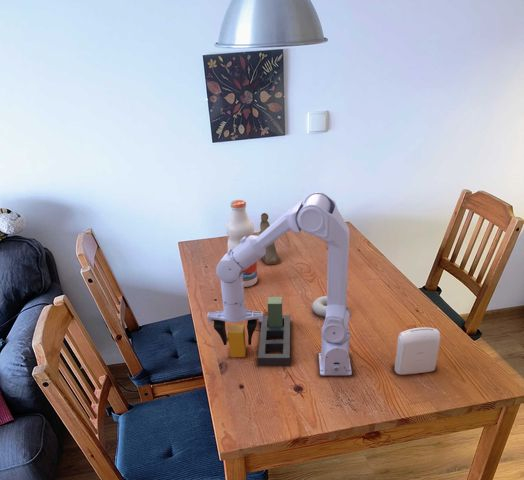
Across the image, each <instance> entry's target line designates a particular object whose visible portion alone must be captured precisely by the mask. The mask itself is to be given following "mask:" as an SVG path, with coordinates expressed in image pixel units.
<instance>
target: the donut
mask: <svg viewBox="0 0 524 480" xmlns="http://www.w3.org/2000/svg"><path fill="white" fill-rule="evenodd" d="M326 309H327V295H324V296H319V297H318V298H316V299H314V301H313V303H312V311H313V312H314V313H315V314H316V315H318V316H320V317H322V318H325V317H326Z"/></svg>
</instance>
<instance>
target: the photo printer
mask: <svg viewBox="0 0 524 480" xmlns="http://www.w3.org/2000/svg"><path fill="white" fill-rule="evenodd" d="M396 344H397V345H396V352H395V361H394V372H395V373H396V374H397V375H400V376H402V375H405V376H406V375H416V374H423V373H430V372H434V371H435V369H436V365H437V359H438V356H439V355H438V354H439V349H440V344H441V333H440V331H439V329H438V328H434V327H426V326H424V327H414V328H409V329H407V330H404V331H401V332H399V334H398V336H397V343H396Z"/></svg>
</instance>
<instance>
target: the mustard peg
mask: <svg viewBox="0 0 524 480" xmlns="http://www.w3.org/2000/svg"><path fill="white" fill-rule="evenodd" d="M227 339H228V346H229V356H230V358H246V353H247V344H246V343H247V342H246V330H245V324H229V325H228V331H227Z"/></svg>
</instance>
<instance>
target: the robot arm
mask: <svg viewBox="0 0 524 480" xmlns="http://www.w3.org/2000/svg"><path fill="white" fill-rule="evenodd" d="M303 202H304V203H303ZM269 225H270V226H269V227H268V228H267V229H266V230H265V231H263V232H262V233H261V234H260V235H259V234H258V235H255V234H253V235H250V236H249V237H248V238H246V236H245V237H243V238H242V239H241V241H240V242H241V243H240V244H239V245H238V246H237V247H235V248H234V249H233V250H232V249H230V250H229V251H228V250H227V252H226V253H225V254H223V256H222V258H221V259H220V260H219V262H218V264H217V265H216V267H215V274H216V276H217V278H218V279H219V280H220V291H221V299H222V308H223V310H217V311H211V312H210V311H209V312H207V315H206V319H207V323H212V322H213V329H214V330H215V332H217V334H218V335H219V337H220V338H221V342H222V343H223V346H227V344H228V334H227V329H226V322H228V323H241V322H245V321H246V322H247V323H246V330H247V344H248V346H251V345H252V338H253V335H254V334H255V333H254V332H255V331H256V329H257V325H258V322H259V323H261V322H263V316H264V311H258V310H257V311H256V310H251V309H246V298H245V297H246V296H245V287H244V284H243V275H242V271H243V270H246V269H247V268H249V267H250V266H251V265H253V264H254V263H255V262H258V261H260V260H261V259H263V258H262V257H263V256H264V255H265V254H266V247H267V246H269V245H270V244H272V243H273V242H274V243H275V242H276V241H278V240H279V239H280V238H281V237H283V236H285V235H286V234H288V232H294V233H297V234H300V233H301V231H303V232H304V233H307V234H308V235H311V236H314V237H316V238H319V239H320V240H322V241H324V242H325V243H326V244H327V277H326V280H327V283H326V296H327V309H326V317H324V321H323V325H322V327H321V330H320V331H321V345H320V352H319V353H318V363H319V375H320V376H352V374H353V372H352V366H351V360H350V359H351V358H350V345H351V331H350V329H349V324H350V321H351V317H352V314H351V310H350V308H349V306H348V305H349V304H348V302H349V301H348V277H349V255H350V253H349V252H350V229H349V226H348V224H347V223H346V221H345V219H344V218H343V216H342V214H341V213H340V211H339V209H338V206H337V204H336V201H335V200H334V199H332V198H331V197H330V196H328V195H327V194H325V193H324V192H320V191H316V192H312V193H310V194H309V195H307V197H306V198H305V200H304V199H302V200H299V201H298V202H296V204H294V205H293V206H291V207H290V208H289V209H288V210H286V211H285V212H284V213H283V214H282V215H280V216H279V217H278V218H277V219H276V220H275V221H274V222H272V223H271V224H269Z"/></svg>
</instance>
